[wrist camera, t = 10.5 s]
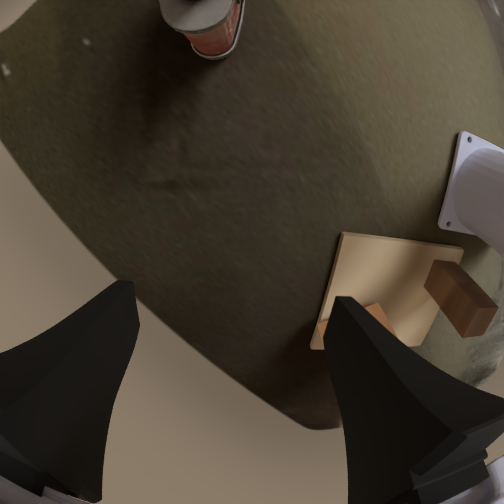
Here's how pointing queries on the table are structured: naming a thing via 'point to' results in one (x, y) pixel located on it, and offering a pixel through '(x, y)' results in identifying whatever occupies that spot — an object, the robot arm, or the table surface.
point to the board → (387, 281)
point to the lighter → (206, 24)
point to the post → (460, 298)
